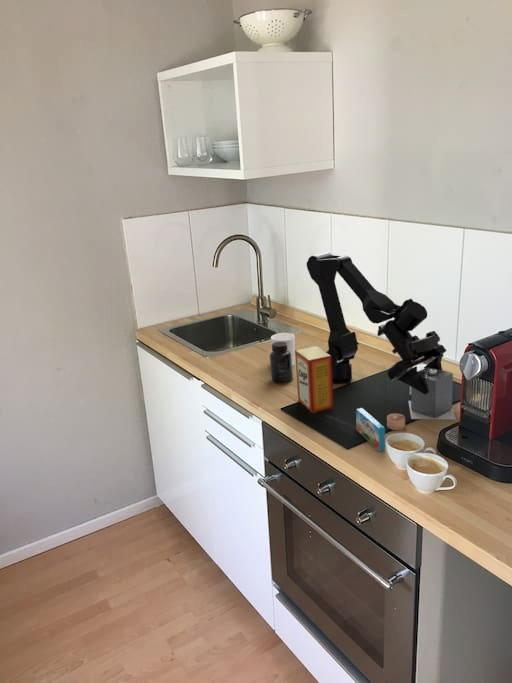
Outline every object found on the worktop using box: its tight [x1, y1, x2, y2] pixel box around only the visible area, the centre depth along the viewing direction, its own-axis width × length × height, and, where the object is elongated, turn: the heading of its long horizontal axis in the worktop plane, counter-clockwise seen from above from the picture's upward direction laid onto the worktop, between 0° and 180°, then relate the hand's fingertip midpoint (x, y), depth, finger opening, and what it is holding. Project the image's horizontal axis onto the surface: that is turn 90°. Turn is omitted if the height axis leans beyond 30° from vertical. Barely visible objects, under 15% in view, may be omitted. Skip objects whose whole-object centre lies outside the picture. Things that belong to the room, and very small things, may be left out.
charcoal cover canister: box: [410, 367, 454, 418], centre depth 150 cm, size 7×7×11 cm
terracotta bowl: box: [386, 413, 406, 431], centre depth 145 cm, size 4×4×3 cm
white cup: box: [270, 332, 296, 367], centre depth 192 cm, size 8×8×10 cm
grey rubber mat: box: [408, 400, 457, 420], centre depth 152 cm, size 11×11×1 cm
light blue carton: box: [355, 407, 386, 452], centre depth 140 cm, size 12×2×6 cm, turn 17°
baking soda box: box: [295, 345, 334, 413], centre depth 160 cm, size 10×6×16 cm
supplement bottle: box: [269, 342, 294, 384], centre depth 179 cm, size 7×7×12 cm
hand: (435, 388), depth 149 cm, fingers closed on charcoal cover canister, 7 cm apart
